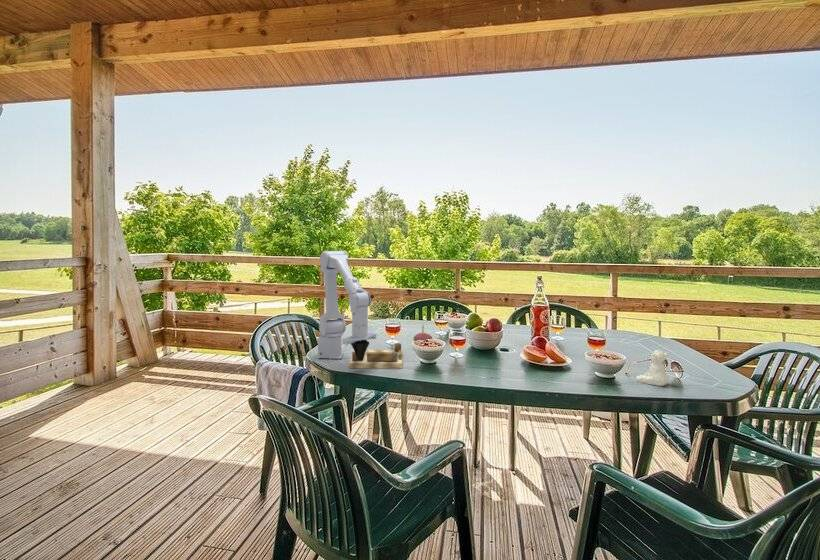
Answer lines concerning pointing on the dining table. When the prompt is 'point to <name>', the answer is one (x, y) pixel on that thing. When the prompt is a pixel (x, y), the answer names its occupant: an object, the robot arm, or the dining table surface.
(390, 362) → the stool seat
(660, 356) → the seated beast figurine
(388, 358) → the folding leg
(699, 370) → the dining table surface
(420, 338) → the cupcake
